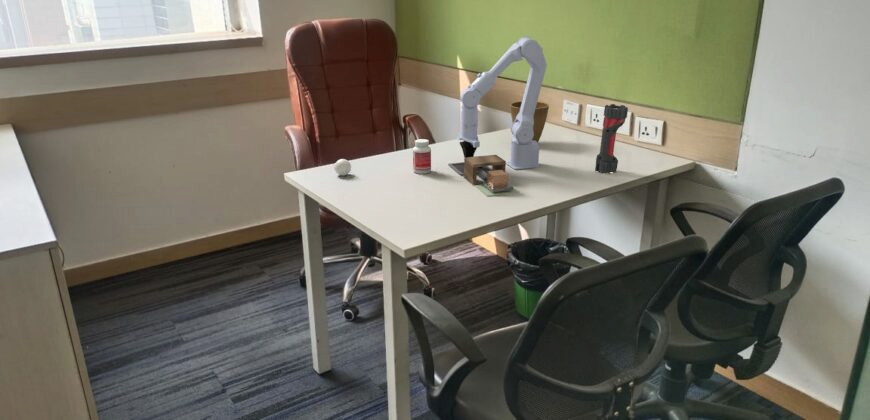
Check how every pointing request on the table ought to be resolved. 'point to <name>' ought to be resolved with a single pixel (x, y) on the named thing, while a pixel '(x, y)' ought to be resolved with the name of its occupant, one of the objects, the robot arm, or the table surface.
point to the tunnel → (481, 165)
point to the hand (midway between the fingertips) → (468, 162)
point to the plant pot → (538, 117)
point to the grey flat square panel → (460, 168)
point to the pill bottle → (422, 157)
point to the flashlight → (610, 137)
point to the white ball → (342, 167)
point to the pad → (490, 193)
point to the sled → (495, 180)
